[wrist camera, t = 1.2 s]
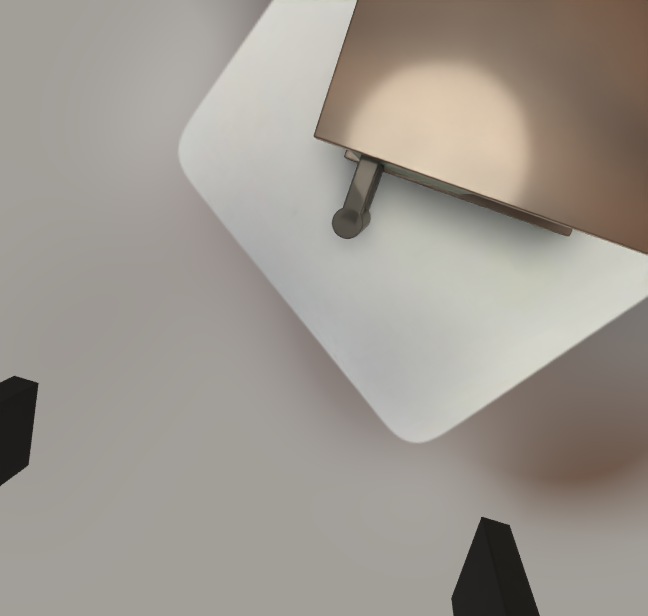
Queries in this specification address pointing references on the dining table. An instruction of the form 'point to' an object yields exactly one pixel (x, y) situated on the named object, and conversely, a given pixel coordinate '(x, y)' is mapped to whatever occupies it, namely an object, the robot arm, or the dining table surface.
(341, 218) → the sliding door
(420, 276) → the dining table surface
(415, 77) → the cupboard
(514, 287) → the dining table surface
